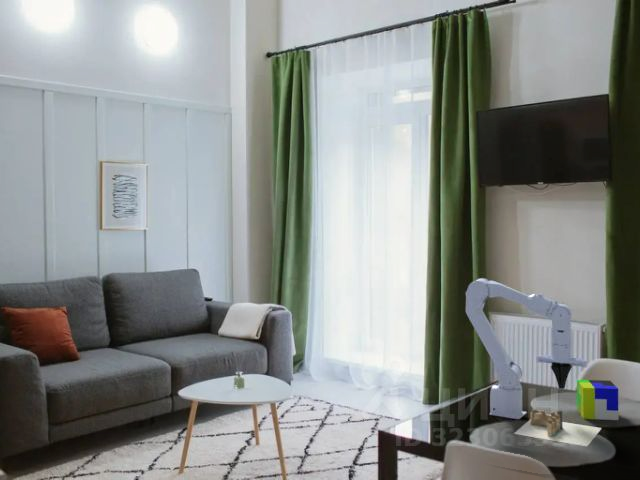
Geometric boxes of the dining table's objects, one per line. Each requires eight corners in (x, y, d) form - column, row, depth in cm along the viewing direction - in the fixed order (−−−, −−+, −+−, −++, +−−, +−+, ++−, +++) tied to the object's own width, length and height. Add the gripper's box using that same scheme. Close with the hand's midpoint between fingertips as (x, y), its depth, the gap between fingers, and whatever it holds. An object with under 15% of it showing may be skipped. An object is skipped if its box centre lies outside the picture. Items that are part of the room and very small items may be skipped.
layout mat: (513, 435, 187) (513, 433, 187) (532, 418, 202) (532, 417, 202) (587, 447, 175) (587, 446, 175) (601, 429, 190) (601, 427, 190)
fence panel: (556, 428, 190) (556, 413, 189) (560, 429, 189) (560, 414, 189) (547, 435, 184) (547, 420, 184) (551, 436, 183) (551, 420, 183)
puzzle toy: (618, 421, 197) (618, 388, 197) (583, 420, 199) (583, 387, 199) (610, 411, 207) (610, 380, 207) (577, 410, 209) (577, 379, 209)
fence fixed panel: (530, 424, 194) (530, 407, 194) (531, 423, 196) (531, 406, 195) (561, 429, 189) (561, 412, 189) (563, 428, 190) (562, 410, 190)
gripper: (589, 343, 198) (589, 388, 198) (541, 339, 206) (541, 382, 207) (584, 347, 192) (584, 393, 193) (534, 343, 200) (534, 387, 201)
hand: (561, 387), depth 199 cm, fingers closed
